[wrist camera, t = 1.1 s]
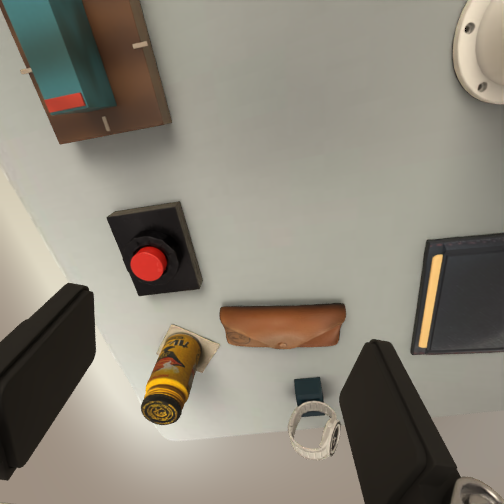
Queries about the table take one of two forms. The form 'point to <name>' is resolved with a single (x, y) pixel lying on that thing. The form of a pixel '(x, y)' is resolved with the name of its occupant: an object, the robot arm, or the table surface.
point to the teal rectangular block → (61, 54)
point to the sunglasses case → (283, 325)
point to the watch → (314, 405)
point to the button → (149, 263)
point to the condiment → (175, 374)
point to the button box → (158, 246)
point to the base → (114, 74)
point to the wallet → (461, 297)
